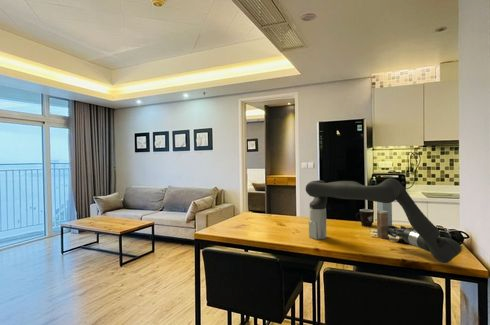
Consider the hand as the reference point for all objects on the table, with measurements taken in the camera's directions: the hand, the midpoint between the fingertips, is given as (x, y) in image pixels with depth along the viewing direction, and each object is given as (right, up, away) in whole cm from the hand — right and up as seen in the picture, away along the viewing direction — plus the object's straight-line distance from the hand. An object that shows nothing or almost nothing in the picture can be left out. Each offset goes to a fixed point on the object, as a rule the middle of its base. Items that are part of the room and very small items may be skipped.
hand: (393, 228), depth 142 cm
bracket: (+9, -7, +18) cm, 21 cm away
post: (+8, -7, +25) cm, 27 cm away
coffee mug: (0, -7, +35) cm, 35 cm away
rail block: (-1, -8, +10) cm, 13 cm away
